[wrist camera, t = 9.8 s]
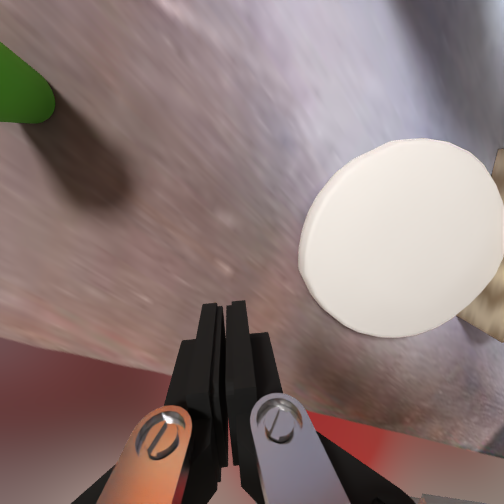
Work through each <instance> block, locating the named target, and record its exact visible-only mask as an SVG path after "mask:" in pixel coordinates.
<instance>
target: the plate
mask: <svg viewBox="0 0 504 504" xmlns="http://www.w3.org/2000/svg"><path fill="white" fill-rule="evenodd" d="M503 257H504V205H503V201H502V199H501V196H500V194H499V191H498V188H497V186H496V184H495V182H494V180H493V179H492V177H491V176H490V174H489V172H488V171H487V169H486V167H485V166H484V164H483V163H482V162H481V161H480V160H478V159H477V158H476V157H475V156H474V155H473V154H472V153H471V152H469V151H467V150H464V149H462V148H460V147H458V146H456V145H454V144H452V143H449V142H445V141H439V140H433V139H427V138H417V139H405V140H394V141H389V142H387V143H385V144H383V145H381V146H379V147H377V148H375V149H373V150H371V151H369V152H367V153H365V154H363V155H361V156H359V157H357V158H355V159H352V160H351V161H350V162H348V163H347V164H346V165H345V166H343V167H342V168H341V169H340V170H338V171H337V172H336V173H335V174H334V175H333V176H332V177H331V179H330V180H329V181H328V182H327V184H326V185H325V186H324V187H323V188H322V190H321V191H320V192H319V193H318V195H317V197H316V198H315V200H314V202H313V204H312V206H311V207H310V209H309V211H308V214H307V217H306V220H305V223H304V226H303V229H302V232H301V238H300V243H299V251H298V269H299V271H300V273H301V276H302V278H303V280H304V282H305V284H306V286H307V288H308V290H309V292H310V294H311V295H312V297H313V298H314V299H315V300H316V302H317V303H318V304H319V305H320V307H321V308H323V309H324V310H325V311H326V312H328V313H329V314H330V315H331V316H333V317H334V318H335V319H336V320H338V321H339V322H340V323H341V324H343V325H344V326H346V327H348V328H350V329H352V330H355V331H357V332H359V333H363V334H368V335H372V336H376V337H383V338H400V337H408V336H415V335H418V334H421V333H423V332H426V331H429V330H432V329H435V328H437V327H438V326H440V325H442V324H444V323H445V322H447V321H449V320H451V319H452V318H453V317H454V316H456V315H457V314H458V313H459V312H461V311H462V310H463V309H464V308H466V307H467V306H468V305H469V304H470V303H471V302H472V301H473V300H474V299H475V298H476V297H477V296H478V295H479V294H480V293H481V292H482V291H483V290H484V289H485V287H486V286H487V285H488V284H489V282H490V281H491V280H492V279H493V277H494V276H495V274H496V272H497V270H498V268H499V266H500V264H501V262H502V260H503Z"/></svg>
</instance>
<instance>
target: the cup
mask: <svg viewBox="0 0 504 504" xmlns="http://www.w3.org/2000/svg"><path fill="white" fill-rule="evenodd" d="M54 108H55V98H54V95H53V92H52V90H51V88H50V86H49V84H48V83H47V81H46V80H45V79H44V78H43V77H42V75H40V74H39V73H38V72H37V71H35V70H34V69H33V68H32V67H31V66H29V65H28V64H27V63H26V62H24V61H23V60H22V59H21V58H20V57H18V56H17V55H16V54H15V53H13V52H12V51H11V50H10V49H9V48H7V47H6V46H5V45H4V44H3V43H1V42H0V122H15V123H40V122H43V121H45V120H47V119H48V118H49V117H50V116H51V115H52V114H53V111H54Z"/></svg>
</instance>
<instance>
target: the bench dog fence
mask: <svg viewBox="0 0 504 504" xmlns="http://www.w3.org/2000/svg"><path fill="white" fill-rule="evenodd" d="M491 177H492V179H493V180H494V182H495V184H496V186H497V188H498V191H499V194H500V196H501V199H502V201H503V205H504V149H498V152H497V156H496V160H495V163H494V167H493V171H492V175H491ZM456 316H458V317H460V318H462V319H463V320H465V321H467V322H468V323H470V324H472V325H473V326H475V327H477V328H478V329H480V330H482V331H483V332H485V333H487V334H488V335H490V336H492V337H493V338H495V339H497V340H498V341H500V342H502V343H503V342H504V257H503V260H502V262H501V264H500V266H499V268H498V270H497V272H496V274H495V276H494V277H493V279H492V280H491V281H490V282H489V284H488V285H487V286H486V287H485V289H484V290H483V291H482V292H481V293H480V294H479V295H478V296H477V297H476V298H475V299H474V300H473V301H472V302H471V303H470V304H469V305H468V306H467V307H466V308H464V309H463V310H462V311H461V312H459V313H458V314H457V315H456Z"/></svg>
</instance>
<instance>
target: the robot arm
mask: <svg viewBox="0 0 504 504" xmlns="http://www.w3.org/2000/svg"><path fill="white" fill-rule="evenodd" d="M228 419H229V428H230V437H231V447H232V456H233V465H234V466H236V465H239V467H240V478H241V487H242V488H243V489H244V490H245V491H246V492H247V493H248V494H249V495H250V496H251V497H252V498H253V499H254V500H255V501H256V504H486V503H480V502H474V501H467V500H460V499H454V498H448V497H441V496H434V495H428V494H422V497H421V498H415V497H409V496H408V495H407V494H406V493H404V492H403V491H402V490H401V489H400V488H398V487H397V486H395V485H394V484H392V483H391V482H390V481H388V480H386V479H385V478H384V477H382V476H381V475H379V474H378V473H377V472H375V471H374V470H372V469H371V468H369V467H368V466H366V465H365V464H363V463H362V462H361V461H359V460H358V459H356V458H355V457H353V456H352V455H350V454H349V453H347V452H346V451H345V450H343V449H342V448H340V447H339V446H337V445H336V444H335V443H333V442H331V441H330V440H328V439H327V438H326V437H324V436H323V435H321V434H320V433H319V432H317V431H316V430H315V429H314V426H313V425H312V422H311V420H310V418H309V416H308V414H307V412H306V410H305V409H304V407H303V406H302V404H301V403H300V402H298V401H297V400H296V399H295V398H293V397H291V396H289V395H287V394H283V391H282V387H281V383H280V379H279V375H278V371H277V367H276V363H275V358H274V354H273V350H272V346H271V342H270V338H269V334H268V332H264V333H254V334H249V326H248V318H247V311H246V303H245V300H244V301H233V302H232V305H229V306H227V310H226V336H225V326H224V316H223V307H222V306H217V303H210V304H203V305H202V310H201V315H200V321H199V326H198V331H197V336H196V339H192V340H183V341H182V342H181V345H180V349H179V353H178V356H177V360H176V364H175V367H174V371H173V374H172V378H171V382H170V385H169V389H168V393H167V396H166V400H165V404H164V406H163V407H161V408H158V409H155V410H154V411H152V412H151V413H149V414H148V415H146V416H145V417H144V418H143V419H142V420H141V421H140V422H139V423H138V424H137V426H136V427H135V429H134V430H133V432H132V434H131V436H130V437H129V440H128V441H127V443H126V445H125V447H124V450H123V452H122V453H121V455H120V457H119V460H118V461H117V463H116V464H115V465H114V466H113V467H112V468H111V469H110V470H109V471H107V472H106V473H105V474H104V475H103V476H102V477H101V478H99V479H98V480H97V481H96V482H95V483H94V484H93V485H92V486H91V487H89V488H88V489H87V490H86V491H85V492H84V493H83V494H81V495H80V496H79V497H78V498H77V499H76V500H75V501H74V502H72V503H71V504H207V503H208V502H209V500H210V499H211V498H212V496H213V495H214V493H215V492H216V491H217V482H220V481H221V468H222V467H227V466H228Z"/></svg>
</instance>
